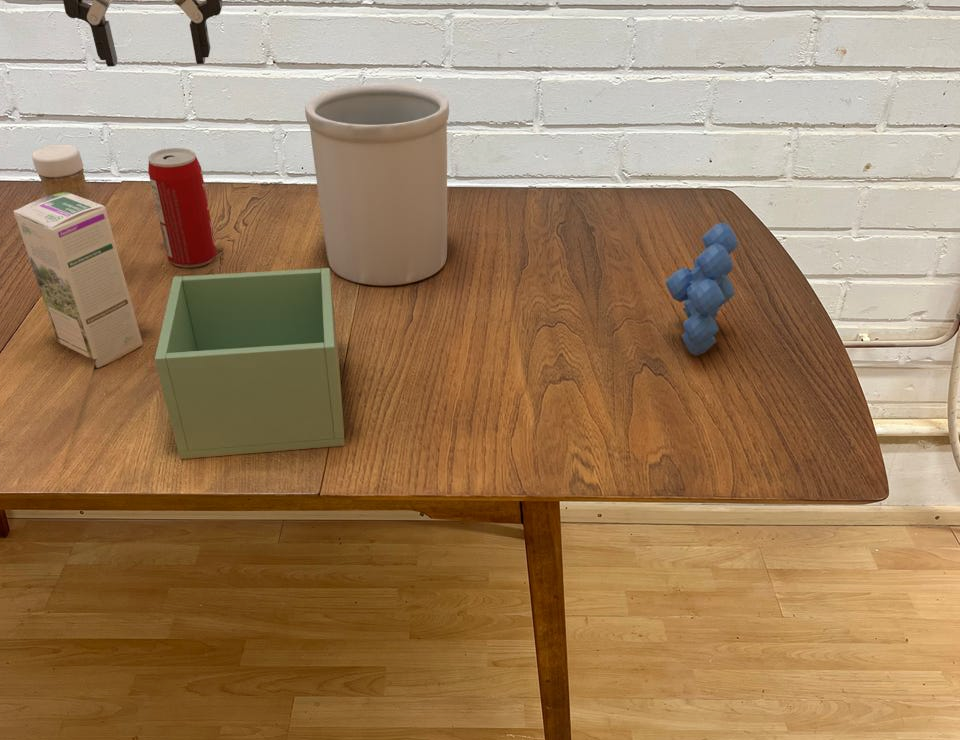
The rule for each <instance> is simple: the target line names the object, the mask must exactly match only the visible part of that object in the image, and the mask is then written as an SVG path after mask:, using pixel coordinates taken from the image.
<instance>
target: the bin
mask: <svg viewBox="0 0 960 740" xmlns="http://www.w3.org/2000/svg"><path fill="white" fill-rule="evenodd" d="M331 277H332V276H331V267H324V268H323V267H322V268H306V269H288V270H287V269H286V270H270V271H253V272H237V273H236V272H232V273H218V274H216V273H215V274H200V275H183V276H182V275H179V276H173V277H172V281H171V286H170V290H169V294H168V299H167V304H166V307H165V312H164V316H163V320H162V325H161V330H160V334H159V338H158V343H157V347H156V351H155V356H154V362H155V366H156V370H157V374H158V378H159V381H160V386H161V390H162V393H163V398H164V402H165V405H166V409H167V413H168V418H169V421H170V424H171V429H172V433H173V437H174V440H175V445H176V448H177V451H178V455H179V456H178V457H179V459H180V460H187V459H188V460H189V459H200V458H211V457H223V456H224V457H225V456H235V455H237V456H238V455H249V454H259V453H260V454H261V453H271V452H272V453H273V452H283V451H284V452H285V451H296V450H309V449H321V448H333V447H344V446H346V443H345V442H346V441H345V427H344V414H343V413H344V412H343V398H342V385H341V370H340V369H341V368H340V357H339V348H338V347H339V345H338V337H337V326H336V317H335V316H336V315H335V306H334V297H333V287H332V278H331Z"/></svg>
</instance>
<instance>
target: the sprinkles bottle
mask: <svg viewBox="0 0 960 740" xmlns="http://www.w3.org/2000/svg"><path fill="white" fill-rule="evenodd" d="M31 158H32V162H33V166H34V169H35V173H36V174H38V177H39V179H40V181H41V186H42V188H43V192H44V195H45V197H47V196H50V195H54V194H57V193H61V192H68V193H71V194H73V195H76V196H79V197H82V198H84V199H87V200H90V201H92V202H93V200H92V198H91V194H90V191H89V187H88V184H87V181H86V176H85V174H84V171H85V170H84V169H85V168H84V162H83V158H82V156H81V152H80V150H79V149H78V148H77V147H76V146H73V145H70V144H69V145H68V144H52V145H48V146H44V147H40V148H38V149H36V150H35V151H33V152H32V155H31Z"/></svg>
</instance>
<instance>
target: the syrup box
mask: <svg viewBox="0 0 960 740" xmlns="http://www.w3.org/2000/svg"><path fill="white" fill-rule="evenodd" d="M106 208H107V207H106V206H105V205H103V204H100V203H99V202H98V203H97V202H95V201H93V200H92V201H90V200H87V199H84V198H82V197H79V196H76V195H73V194H71V193H68V192H61V193H57V194H54V195H50V196H47V197H46V196H44V197H42V198H39V199H37V200H34V201H32V202H30V203H28V204H25V205H23V206H21V207H19V208H17V209H14V210H13V216H14V218H15V221H16V224H17V227H18V229H19V233H20V235H21V238H22V241H23V244H24V248H25V251H26V254H27V256H28V260H29V262H30V265H31V268H32V270H33V271H32V272H33V274H34V276H35V279H36V283H37V285H38V287H39V291H40V294H41V296H42V297H41V298H42V300H43V303H44V306H45V308H46V312H47V314H48V318H49V320H50V323H51V325H52V329H53V331H54V335H55V337H56V340H57V343H59V344H61V345H63V346H64V347H67V348H68V349H71V350H72V351H74V352H77V353H79V354H81V355H83V356H85V357H87V358H89V359H91V360H95V362H94V365H93V368H95V369H100V368H102V367H103V366H106V365H108V364H110V363H113V362H114V361H116V360H118V359H120V358H122V357H124V356H126V355H128V354H129V353H131V352H133V351H135V350H136V349H138V348H140V347H142V346H143V344H144V343H143V339H142V336H141V332H140V328H139V326H138V321H137V317H136V314H135V310H134V307H133V303H132V299H131V295H130V291H129V288H128V285H127V281H126V277H125V274H124V271H123V267H122V263H121V259H120V255H119V252H118V248H117V245H116V242H115V237H114V233H113V230H112V227H111V223H110V220H109V217H108V213H107V209H106Z"/></svg>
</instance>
